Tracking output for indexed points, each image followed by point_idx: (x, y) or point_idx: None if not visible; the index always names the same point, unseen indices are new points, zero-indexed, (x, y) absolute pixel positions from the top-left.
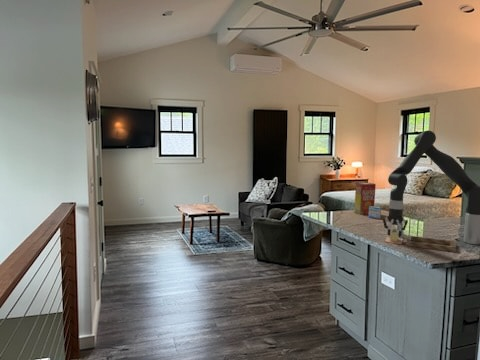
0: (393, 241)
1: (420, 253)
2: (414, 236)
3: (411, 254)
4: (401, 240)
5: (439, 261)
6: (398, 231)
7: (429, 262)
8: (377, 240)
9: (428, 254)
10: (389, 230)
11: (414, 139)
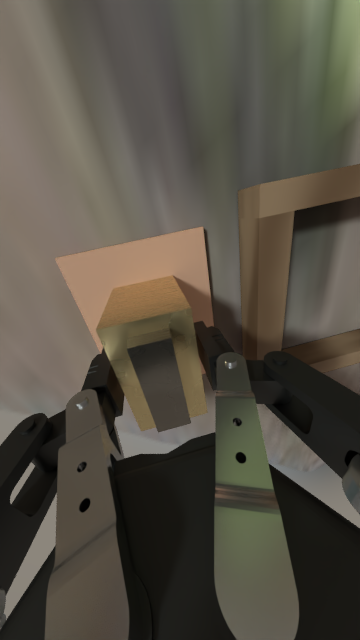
0: None
1: None
2: (323, 189)
3: (267, 452)
4: (203, 298)
5: None
6: (195, 341)
7: (310, 469)
8: (67, 391)
9: None
10: (115, 410)
11: None
